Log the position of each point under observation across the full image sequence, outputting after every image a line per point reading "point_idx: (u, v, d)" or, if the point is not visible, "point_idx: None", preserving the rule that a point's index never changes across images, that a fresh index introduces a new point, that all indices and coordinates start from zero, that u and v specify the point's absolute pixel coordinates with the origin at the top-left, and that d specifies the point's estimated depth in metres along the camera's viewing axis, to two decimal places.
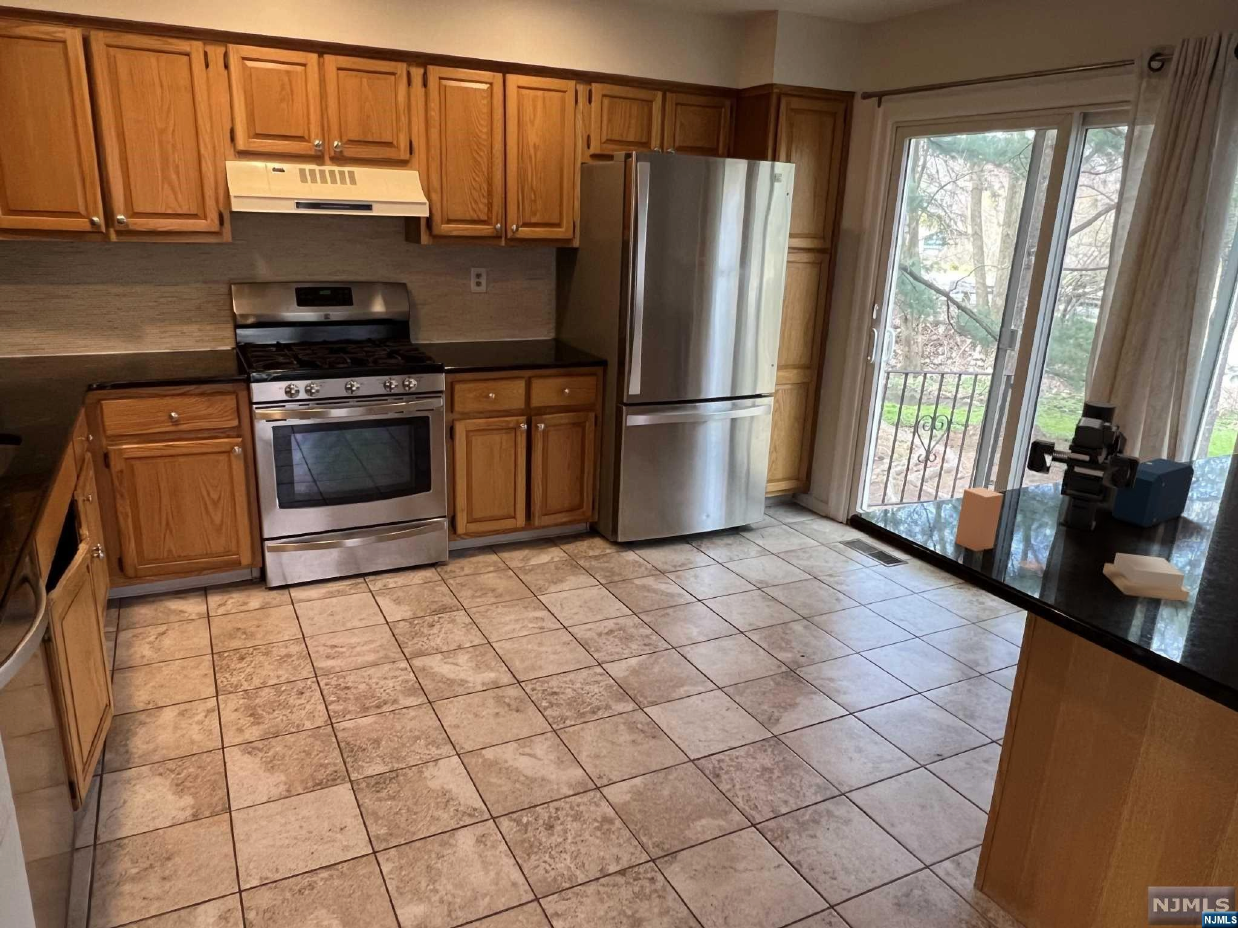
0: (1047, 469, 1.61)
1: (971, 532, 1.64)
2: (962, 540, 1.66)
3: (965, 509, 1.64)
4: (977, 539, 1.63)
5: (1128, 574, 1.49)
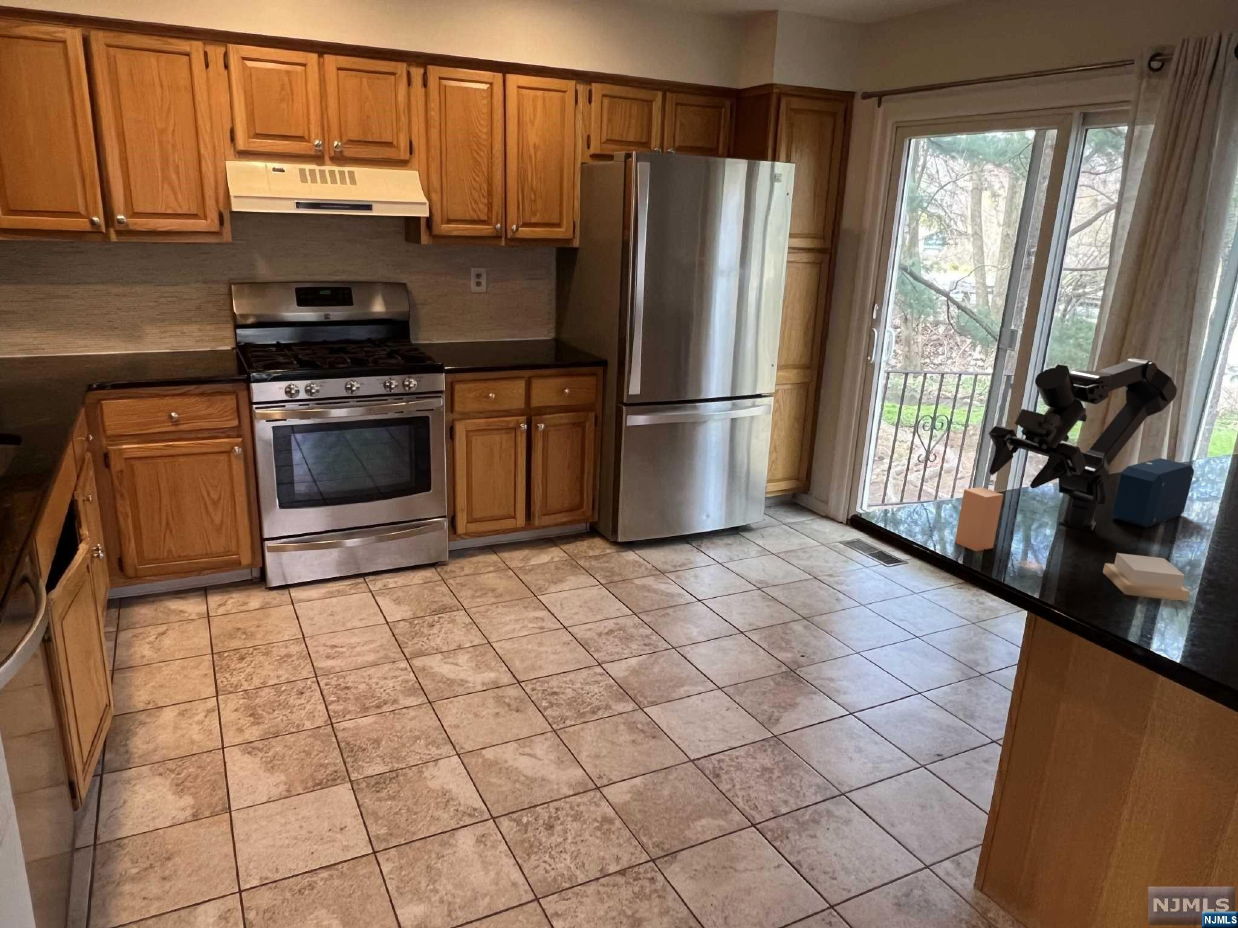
0: (990, 473, 1.70)
1: (971, 532, 1.64)
2: (962, 540, 1.66)
3: (965, 509, 1.64)
4: (977, 539, 1.63)
5: (1128, 574, 1.49)
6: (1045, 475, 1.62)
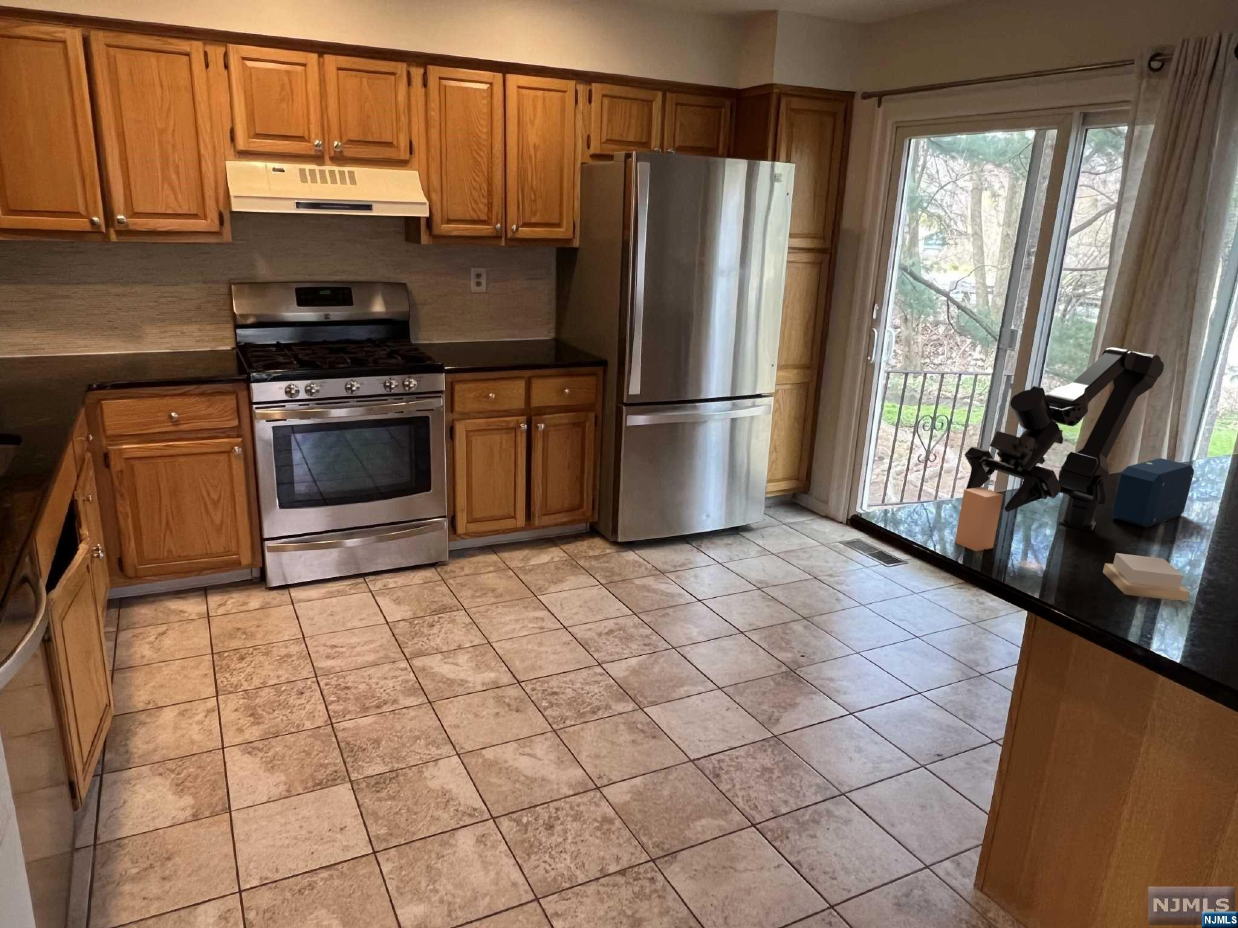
0: None
1: (971, 532, 1.64)
2: (962, 540, 1.66)
3: (965, 509, 1.64)
4: (977, 539, 1.63)
5: (1127, 574, 1.49)
6: (1020, 498, 1.60)
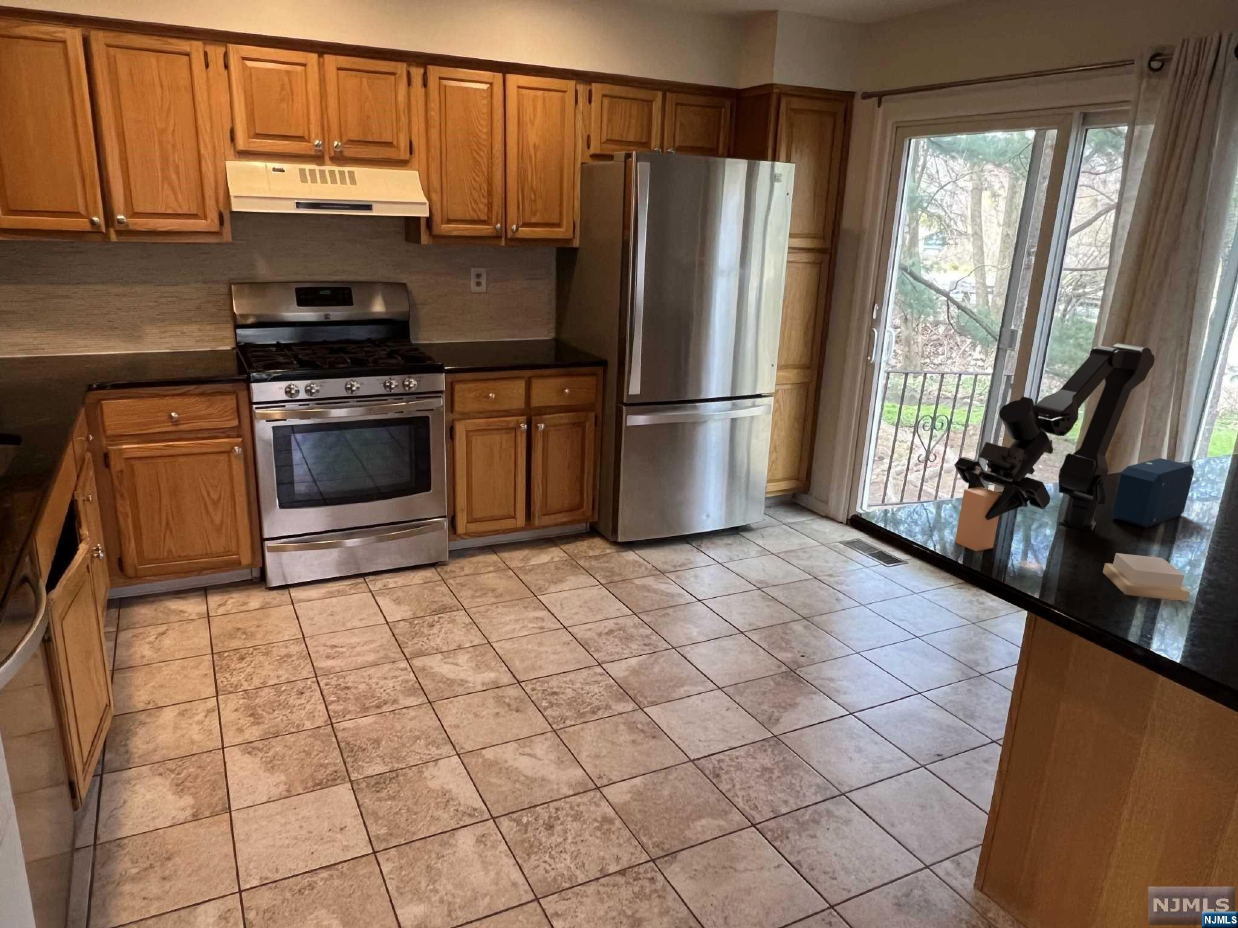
0: None
1: (971, 532, 1.64)
2: (962, 540, 1.66)
3: (965, 509, 1.64)
4: (977, 539, 1.63)
5: (1128, 574, 1.49)
6: (1000, 507, 1.61)
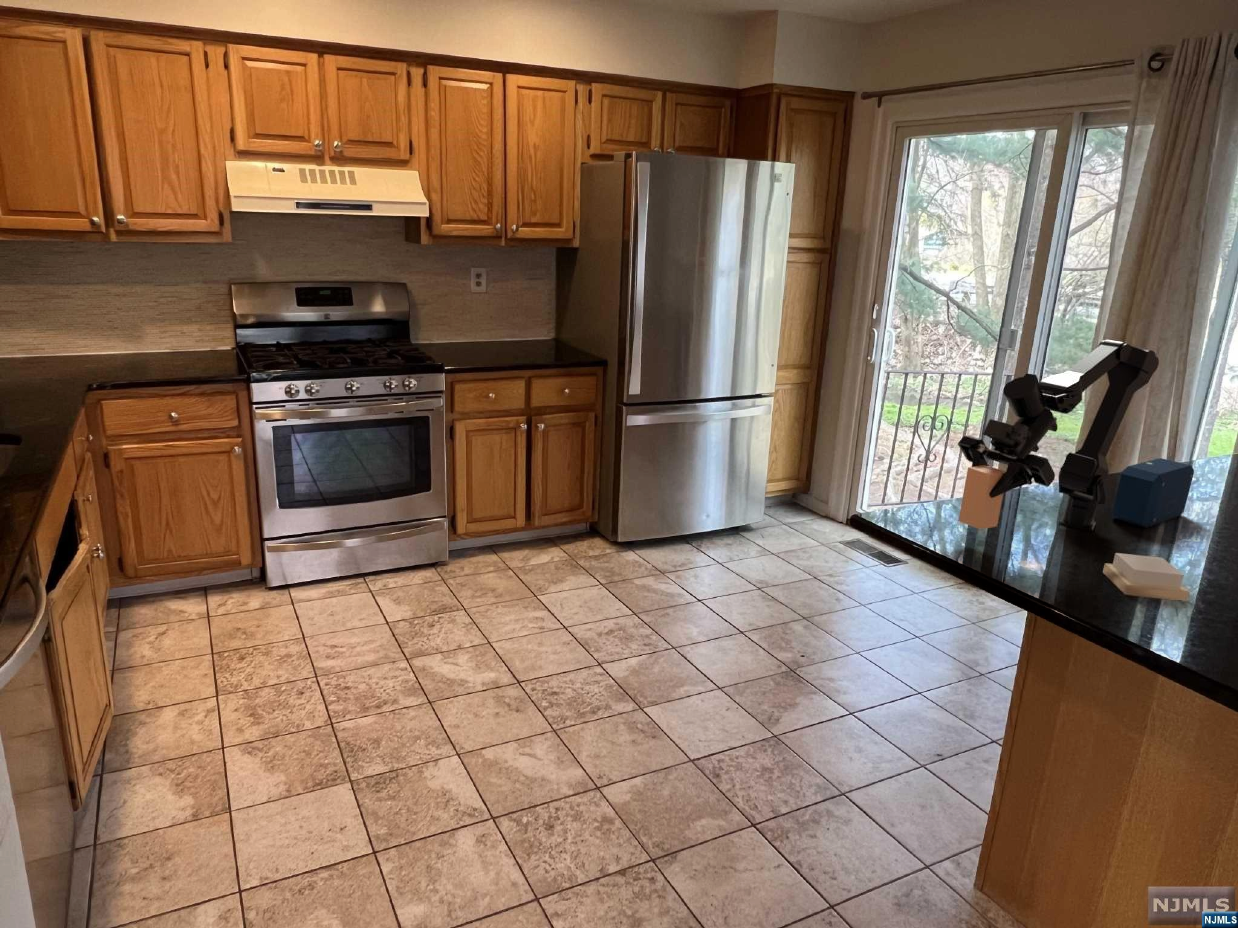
0: None
1: (975, 510, 1.62)
2: (966, 519, 1.64)
3: (969, 487, 1.63)
4: (981, 517, 1.61)
5: (1127, 574, 1.49)
6: (1004, 484, 1.60)
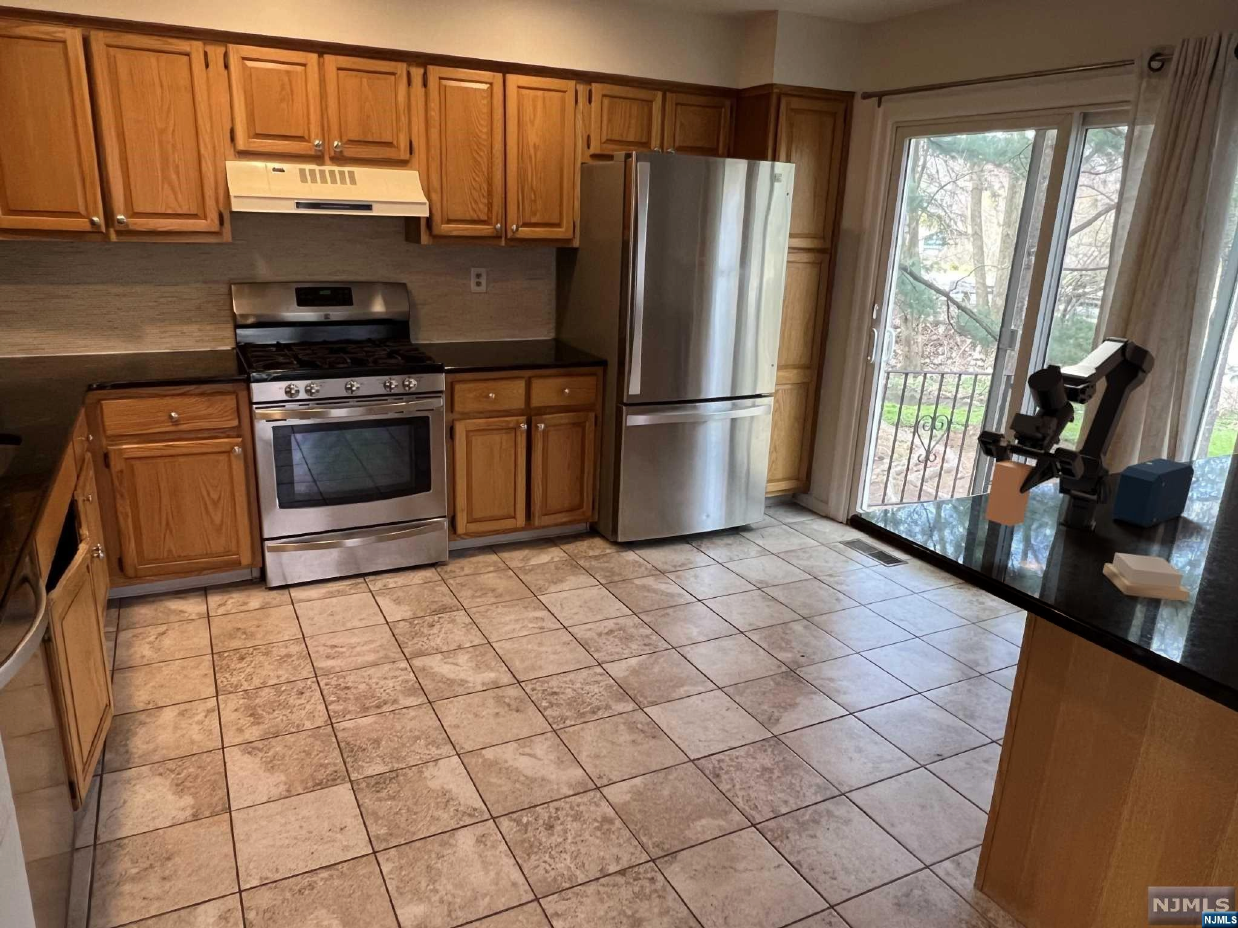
0: None
1: (1004, 507, 1.57)
2: (994, 516, 1.59)
3: (997, 483, 1.58)
4: (1011, 514, 1.57)
5: (1126, 574, 1.49)
6: (1034, 479, 1.55)
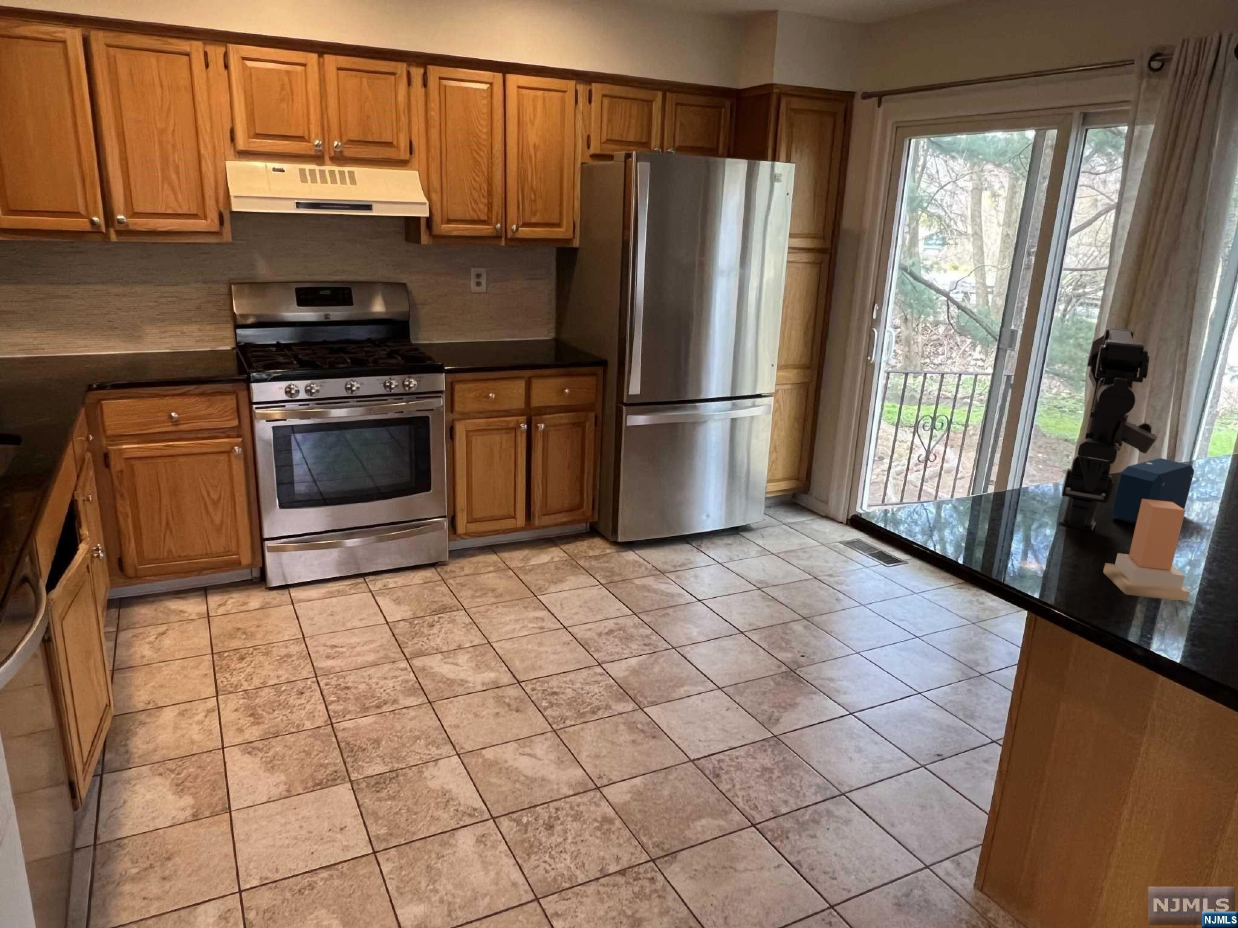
0: (1089, 490, 1.61)
1: (1164, 551, 1.47)
2: (1151, 562, 1.48)
3: (1155, 528, 1.46)
4: (1172, 557, 1.47)
5: (1128, 574, 1.49)
6: None
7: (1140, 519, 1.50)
